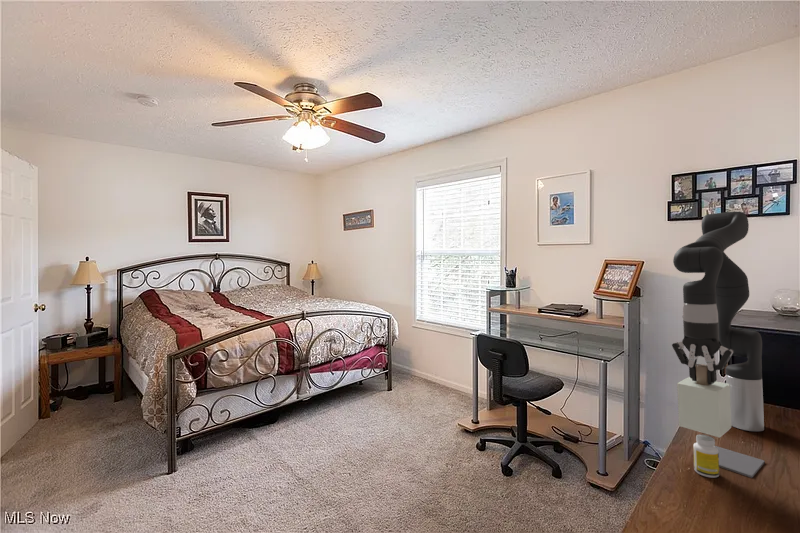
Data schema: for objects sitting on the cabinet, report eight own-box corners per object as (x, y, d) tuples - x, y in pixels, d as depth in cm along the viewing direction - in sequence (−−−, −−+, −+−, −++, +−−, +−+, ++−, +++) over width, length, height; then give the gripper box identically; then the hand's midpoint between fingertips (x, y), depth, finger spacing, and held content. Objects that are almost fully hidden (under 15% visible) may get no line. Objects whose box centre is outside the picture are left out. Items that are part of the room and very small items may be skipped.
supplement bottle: (724, 479, 100) (722, 442, 99) (701, 477, 101) (699, 442, 101) (711, 468, 105) (710, 433, 105) (689, 466, 106) (688, 432, 106)
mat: (712, 446, 116) (711, 444, 116) (764, 462, 106) (764, 460, 106) (697, 459, 109) (697, 457, 109) (752, 478, 99) (751, 475, 99)
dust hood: (691, 417, 109) (689, 359, 109) (731, 427, 101) (728, 365, 101) (678, 426, 104) (676, 365, 104) (719, 437, 96) (717, 372, 96)
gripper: (738, 320, 99) (740, 385, 99) (676, 315, 110) (678, 373, 110) (728, 324, 94) (731, 391, 95) (665, 318, 106) (667, 379, 106)
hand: (702, 381), depth 103 cm, fingers closed on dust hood, 3 cm apart
